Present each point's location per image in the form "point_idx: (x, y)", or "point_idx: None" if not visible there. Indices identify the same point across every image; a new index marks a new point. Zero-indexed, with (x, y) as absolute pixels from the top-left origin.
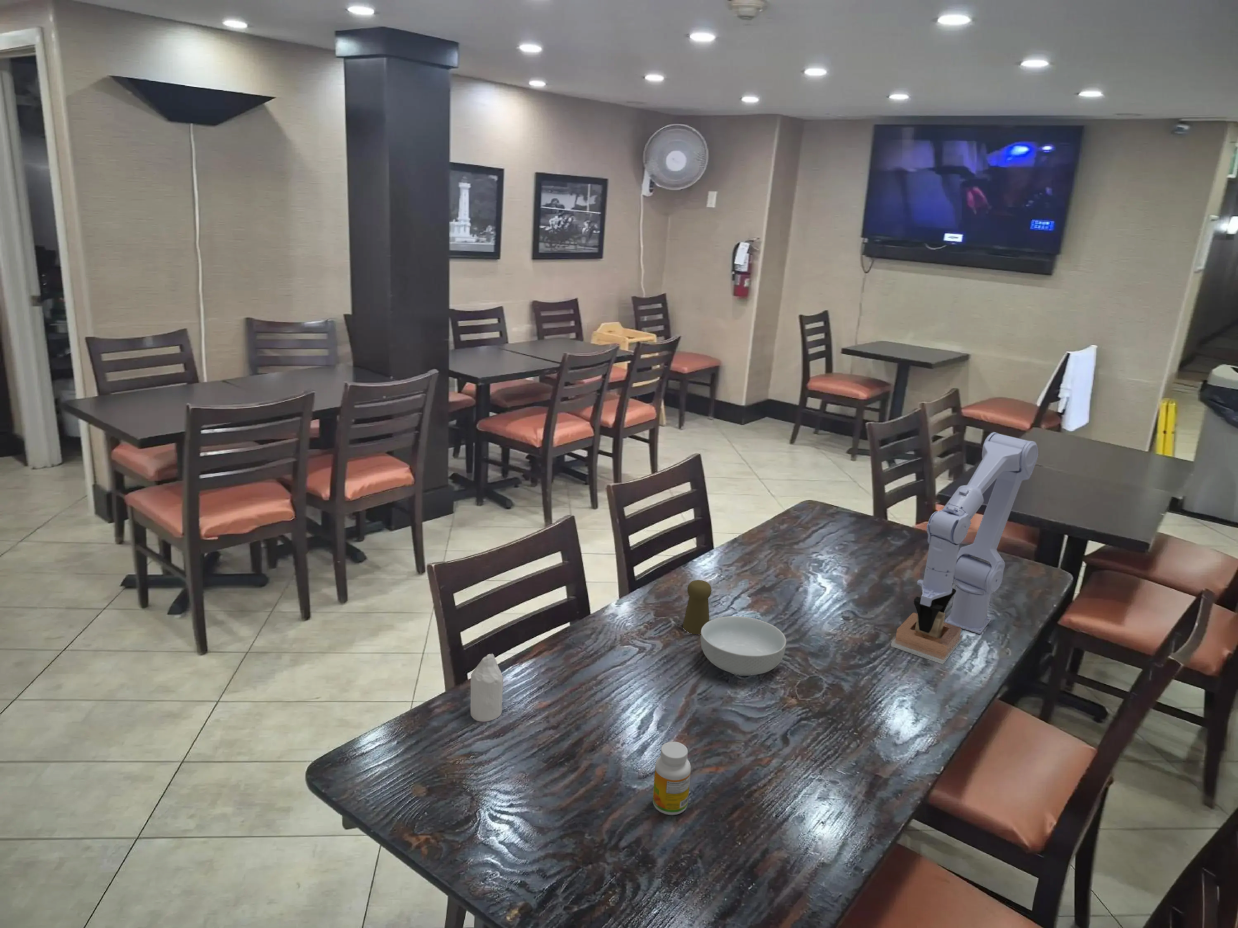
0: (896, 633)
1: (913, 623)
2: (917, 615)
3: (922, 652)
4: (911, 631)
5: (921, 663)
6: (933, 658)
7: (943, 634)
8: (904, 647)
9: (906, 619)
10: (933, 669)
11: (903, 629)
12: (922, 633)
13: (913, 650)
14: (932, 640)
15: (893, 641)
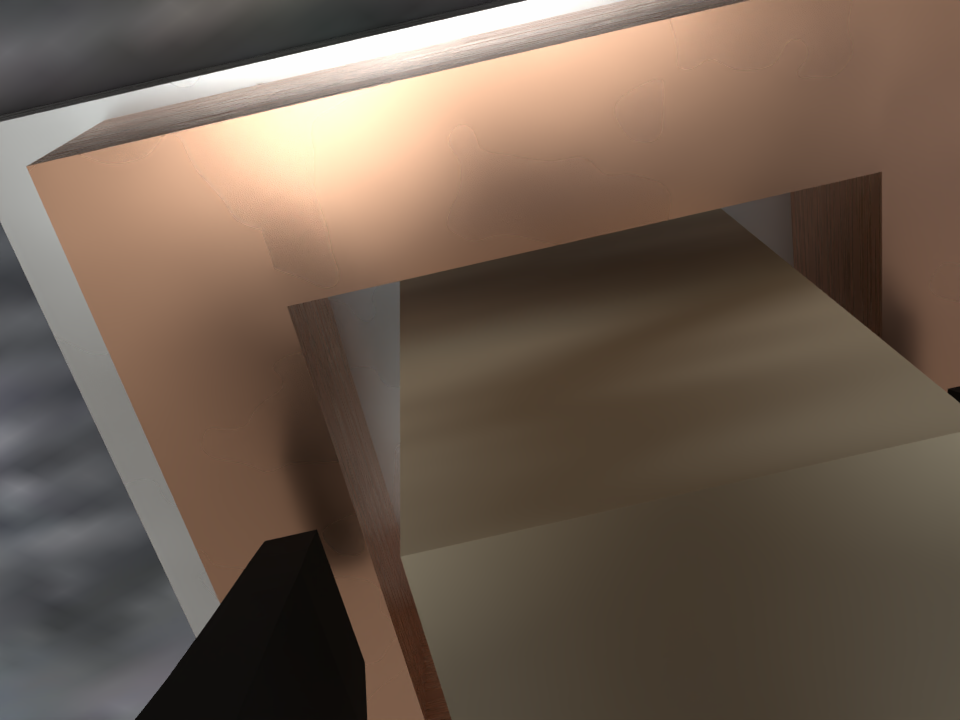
0: (63, 146)
1: (567, 226)
2: (403, 524)
3: (164, 547)
4: (227, 383)
5: (37, 585)
6: None
7: None
8: (62, 331)
9: (623, 29)
10: (61, 703)
11: (147, 253)
12: (346, 517)
13: (115, 446)
14: None
15: (16, 138)
